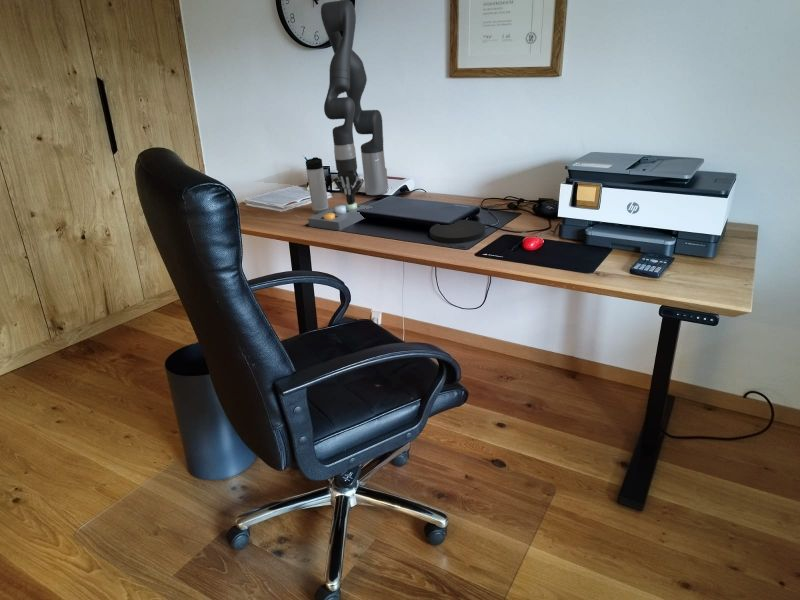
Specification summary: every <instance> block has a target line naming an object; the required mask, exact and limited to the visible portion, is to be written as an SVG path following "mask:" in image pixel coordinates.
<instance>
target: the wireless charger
mask: <svg viewBox="0 0 800 600" xmlns="http://www.w3.org/2000/svg"><path fill="white" fill-rule="evenodd" d="M458 220H459V221H457V222H455V223H454V224H451V225H440V224H438V223H436V224H434V225H433V226H431V227H430V228H429V236H430V238H431V239H432V240H433V241H437V242H439V243H445V244H446V243H447V244H463V243H469V242H474V241H477V240H479V239H481V238H483V237H484V236H485V235H486V226H485V224H483V223H481V222H480V221H475V220H471V219H470V220H468V219H458Z"/></svg>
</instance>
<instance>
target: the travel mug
mask: <svg viewBox="0 0 800 600" xmlns="http://www.w3.org/2000/svg"><path fill="white" fill-rule="evenodd" d="M305 167H306V175H307V181H308V182H307V183H308V189H309V196H310V201H311V208H312V212H313V213H314V214H319V213H321V212H324V211H326V210H328V209H330V208H329V200H328V199H329V198H328V193H327V186H326V180H325V172H324V165H323V159H322V158H320V157H318V156H317V157H316V156H315V157H311V158H309V159H307V160H305Z"/></svg>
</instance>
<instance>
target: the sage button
mask: <svg viewBox="0 0 800 600" xmlns="http://www.w3.org/2000/svg"><path fill="white" fill-rule="evenodd" d="M346 203H347V202H346ZM357 205H358V203H357V202H356V201H355V202H354V204H352V205H349V204H348V203H347V204H346V209H351V210H353V209H356V208H357Z"/></svg>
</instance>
